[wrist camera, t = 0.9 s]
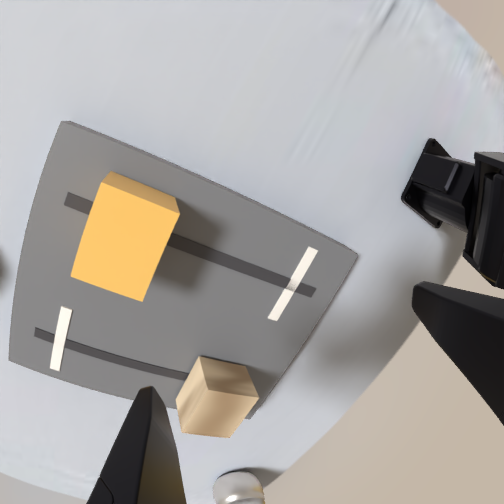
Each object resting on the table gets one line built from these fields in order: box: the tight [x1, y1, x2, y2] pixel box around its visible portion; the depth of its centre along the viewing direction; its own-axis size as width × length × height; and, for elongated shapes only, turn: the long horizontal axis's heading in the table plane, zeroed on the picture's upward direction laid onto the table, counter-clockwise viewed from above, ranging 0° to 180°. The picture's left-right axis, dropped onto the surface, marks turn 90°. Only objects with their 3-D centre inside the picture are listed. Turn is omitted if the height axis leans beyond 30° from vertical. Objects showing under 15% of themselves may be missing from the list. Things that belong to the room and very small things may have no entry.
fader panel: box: [9, 121, 358, 419], centre depth 22 cm, size 22×18×2 cm
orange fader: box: [71, 171, 180, 302], centre depth 16 cm, size 4×5×4 cm
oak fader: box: [176, 356, 259, 438], centre depth 22 cm, size 4×5×4 cm
